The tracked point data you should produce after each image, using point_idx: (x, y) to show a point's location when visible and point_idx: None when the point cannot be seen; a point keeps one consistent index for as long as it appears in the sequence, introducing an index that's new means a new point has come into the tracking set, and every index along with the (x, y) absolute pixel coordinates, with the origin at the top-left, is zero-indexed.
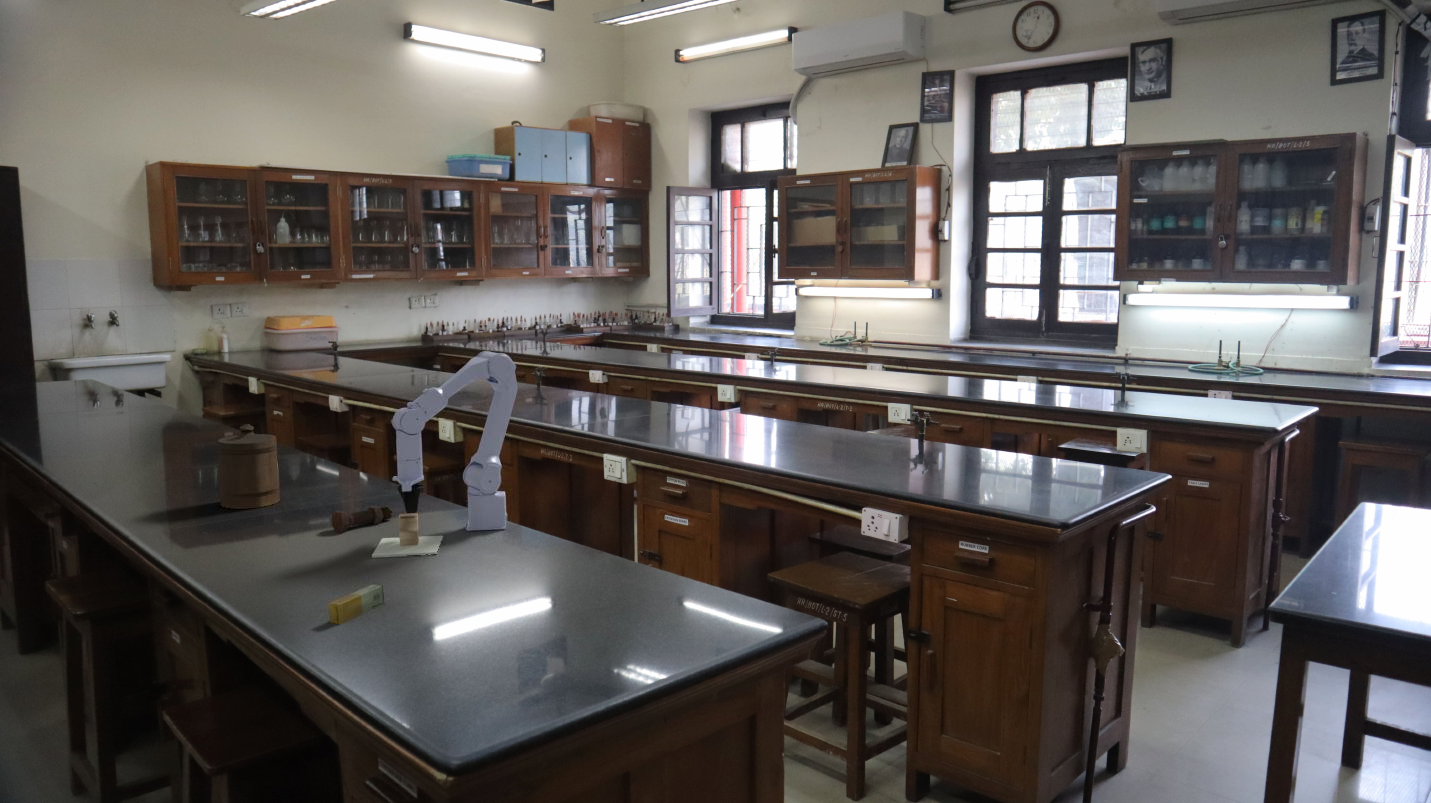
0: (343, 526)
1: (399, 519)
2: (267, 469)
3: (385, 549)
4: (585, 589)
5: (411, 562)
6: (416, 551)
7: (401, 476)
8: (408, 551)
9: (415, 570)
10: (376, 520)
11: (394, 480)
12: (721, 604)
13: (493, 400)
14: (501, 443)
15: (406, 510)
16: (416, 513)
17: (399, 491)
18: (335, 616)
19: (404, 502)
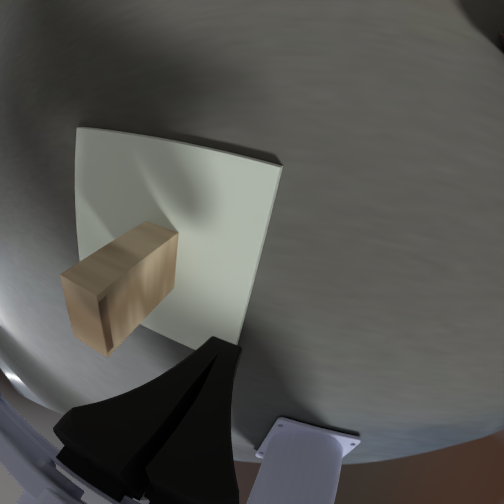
0: (501, 35)
1: (72, 269)
2: None
3: (116, 168)
4: (19, 356)
5: (49, 226)
6: (89, 254)
7: (17, 501)
8: (91, 234)
9: (20, 225)
10: None
11: (47, 489)
12: (24, 388)
13: None
14: None
15: (196, 350)
16: (101, 350)
17: (73, 410)
18: None
19: (157, 378)
